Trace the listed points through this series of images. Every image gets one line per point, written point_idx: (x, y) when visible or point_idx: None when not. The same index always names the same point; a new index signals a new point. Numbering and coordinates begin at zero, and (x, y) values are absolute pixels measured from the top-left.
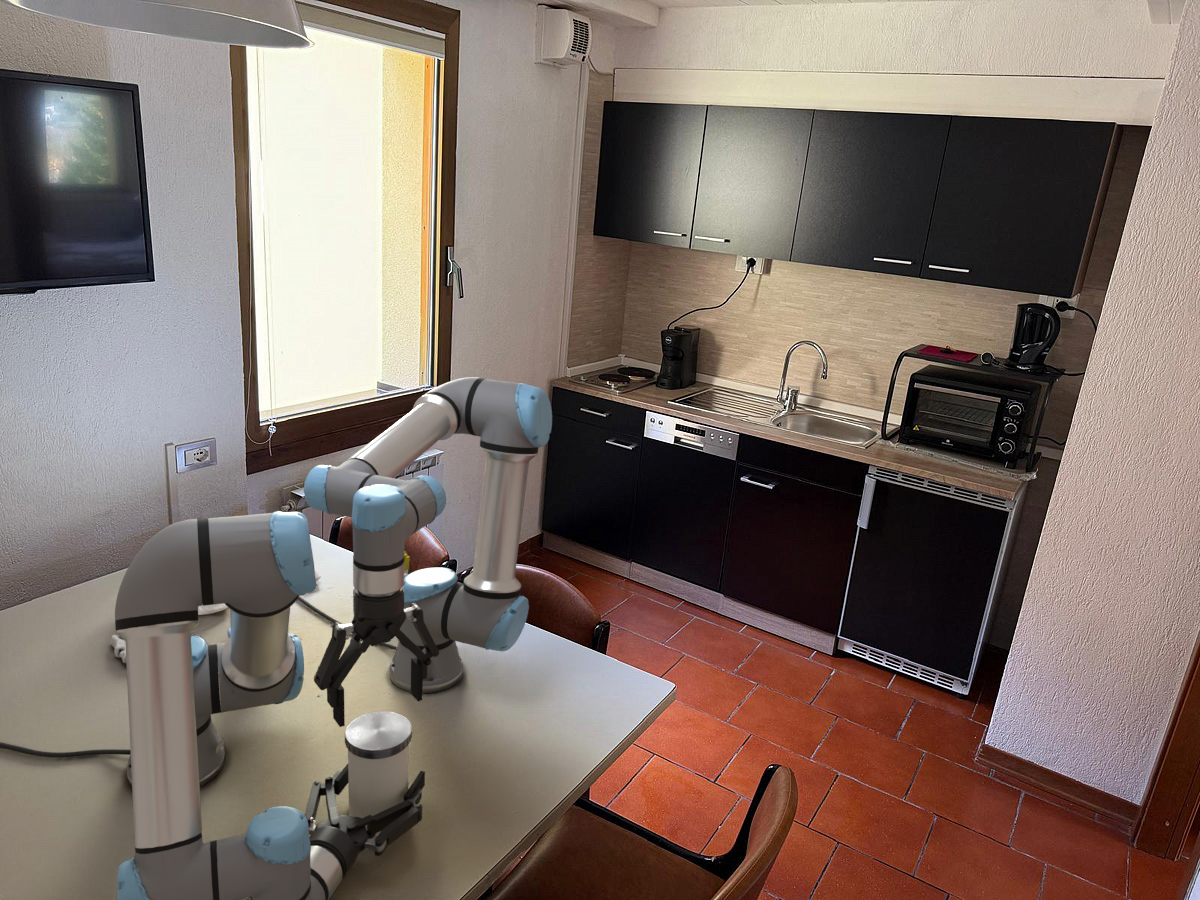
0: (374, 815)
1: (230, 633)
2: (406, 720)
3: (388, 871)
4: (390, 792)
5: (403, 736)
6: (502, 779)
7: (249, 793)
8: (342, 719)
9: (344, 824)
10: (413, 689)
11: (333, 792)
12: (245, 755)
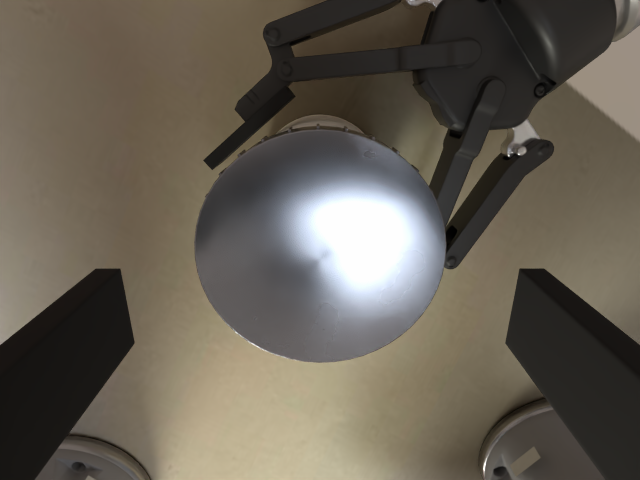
0: (390, 70)
1: None
2: (202, 259)
3: None
4: (321, 122)
5: (251, 172)
6: (34, 135)
7: (489, 348)
8: (552, 286)
9: (468, 84)
10: (109, 341)
11: None
12: (452, 432)
